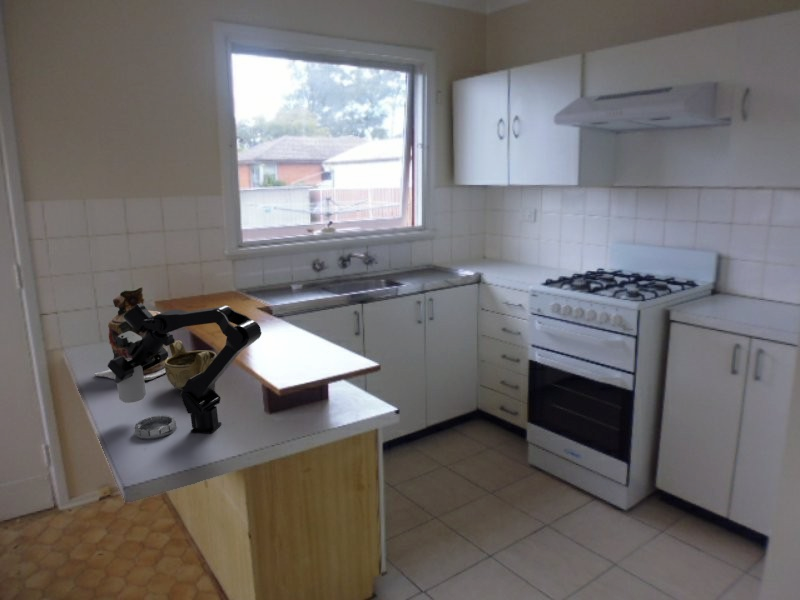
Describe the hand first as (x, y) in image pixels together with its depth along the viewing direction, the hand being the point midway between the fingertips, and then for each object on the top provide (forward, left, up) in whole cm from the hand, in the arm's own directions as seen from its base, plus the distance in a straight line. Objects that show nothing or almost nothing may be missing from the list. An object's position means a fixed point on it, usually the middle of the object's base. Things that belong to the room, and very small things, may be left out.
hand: (126, 377), depth 178 cm
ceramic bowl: (-6, -26, -14) cm, 30 cm away
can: (-1, 0, -7) cm, 7 cm away
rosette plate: (-12, +7, -13) cm, 19 cm away
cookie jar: (+23, -42, -14) cm, 50 cm away
